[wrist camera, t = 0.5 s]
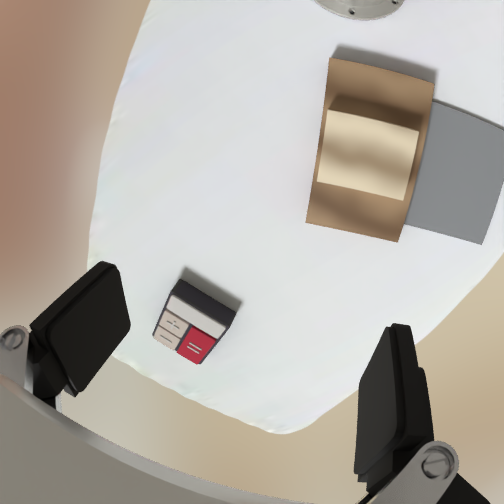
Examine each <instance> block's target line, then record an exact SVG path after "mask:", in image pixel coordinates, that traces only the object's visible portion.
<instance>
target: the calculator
mask: <svg viewBox="0 0 504 504" xmlns="http://www.w3.org/2000/svg"><path fill="white" fill-rule="evenodd" d="M235 315H236V312H234V311H233V310H231V309H229V308H228V307H226V306H224V305H223V304H221V303H219V302H218V301H216V300H214V299H213V298H211V297H209V296H208V295H206V294H205V293H203V292H201V291H200V290H198V289H196V288H195V287H193V286H192V285H190V284H188V283H187V282H185V281H184V280H182V279H180V280H179V281H178V282H177V284H176V285H175V286H174V288H173V289H172V290H171V292H170V294H169V296H168V299H167V301H166V303H165V306H164V308H163V310H162V313H161V315H160V317H159V320H158V322H157V324H156V327H155V329H154V332H153V334H152V335H153V338H154V339H156V340H157V341H159V342H160V343H162V344H163V345H165V346H167V347H168V348H170V349H172V350H176V351H177V353H178V354H180V355H181V356H183V357H185V358H187V359H188V360H190V361H192V362H193V363H195V364H201V363H202V362H203V361H204V359H205V358H206V357H207V356H208V354H209V353H210V352H211V351H212V349H213V348H214V347H215V346H216V344H217V343H218V342H219V341H220V339H221V338H222V337H223V335H224V334H225V333H226V332H227V330H228V329H229V328H230V326H231V324H232V322H233V320H234V317H235Z"/></svg>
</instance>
